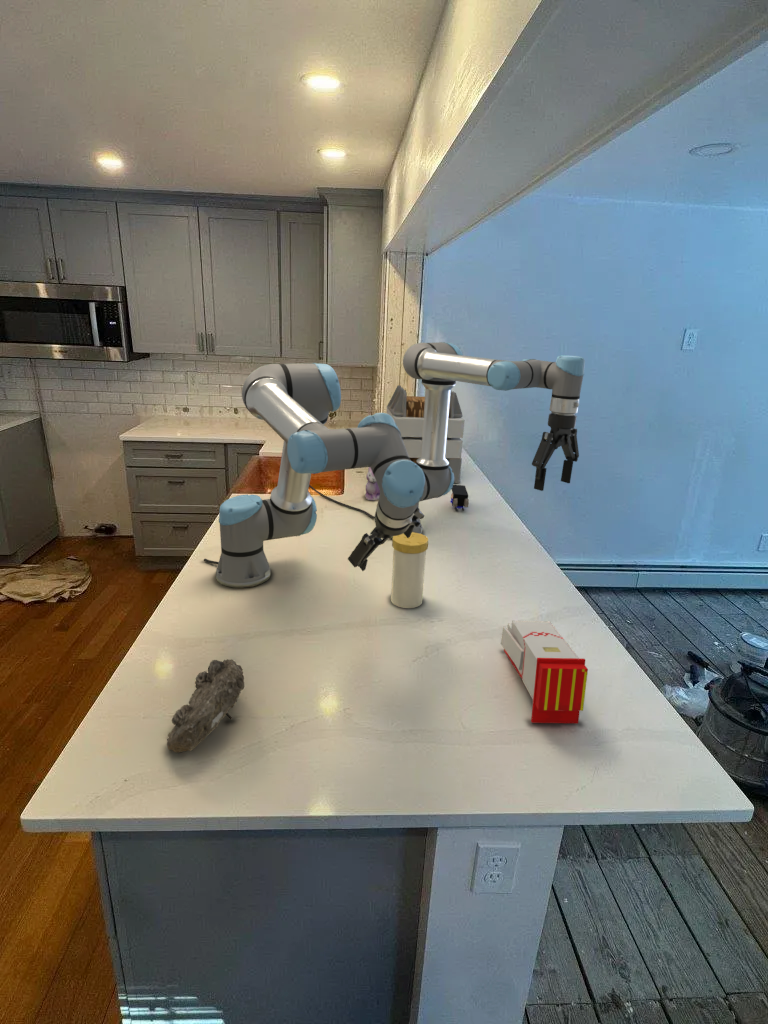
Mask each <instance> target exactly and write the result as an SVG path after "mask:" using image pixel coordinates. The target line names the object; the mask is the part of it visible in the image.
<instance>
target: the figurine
mask: <svg viewBox="0 0 768 1024" xmlns="http://www.w3.org/2000/svg"><path fill="white" fill-rule="evenodd" d="M367 468H368V469H367V473H366V475H365V478H366V480H367V482H366V484H365V494H364V498H365V499H366V500H367V501H378V499H379V496H380V490H379V487H378V484H377V482H376V479H375V477H374V475H373V472H372V470H371V468H370V467H367Z"/></svg>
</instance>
